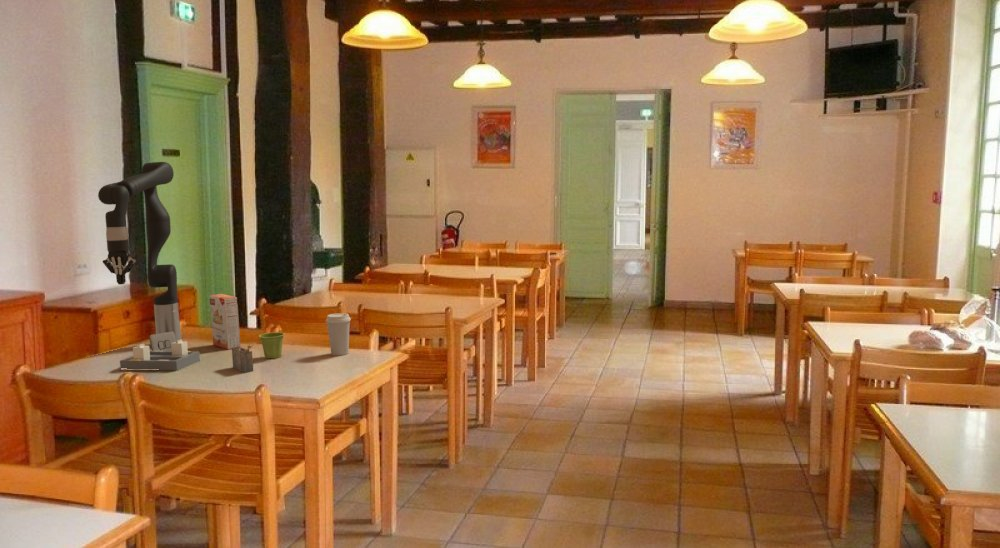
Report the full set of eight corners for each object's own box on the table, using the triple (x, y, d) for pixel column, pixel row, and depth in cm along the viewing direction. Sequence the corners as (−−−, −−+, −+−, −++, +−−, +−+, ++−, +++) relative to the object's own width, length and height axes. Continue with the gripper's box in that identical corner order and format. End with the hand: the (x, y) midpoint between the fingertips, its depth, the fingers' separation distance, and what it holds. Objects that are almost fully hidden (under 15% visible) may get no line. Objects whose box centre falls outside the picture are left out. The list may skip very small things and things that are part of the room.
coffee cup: (338, 357, 309) (336, 318, 308) (321, 354, 315) (319, 315, 313) (357, 352, 317) (355, 314, 315) (340, 349, 323) (339, 312, 321)
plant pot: (266, 361, 306) (265, 338, 305) (256, 357, 314) (254, 334, 312) (290, 357, 312) (288, 334, 311) (279, 353, 319) (278, 331, 318)
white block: (178, 356, 309) (176, 339, 308) (188, 357, 308) (186, 339, 307) (172, 359, 305) (171, 341, 304) (182, 359, 304) (181, 341, 304)
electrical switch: (154, 359, 315) (151, 335, 314) (149, 358, 318) (146, 334, 318) (178, 355, 321) (176, 331, 321) (173, 354, 325) (170, 331, 324)
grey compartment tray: (145, 360, 313) (145, 350, 313) (199, 360, 310) (199, 350, 309) (120, 370, 298) (119, 360, 297) (177, 370, 294) (176, 360, 294)
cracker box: (212, 345, 338) (208, 294, 335) (226, 343, 342) (222, 293, 339) (226, 350, 328) (223, 298, 325) (241, 347, 332) (237, 296, 329)
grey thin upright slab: (254, 372, 291) (252, 345, 290) (246, 373, 289) (244, 346, 288) (241, 367, 300) (239, 340, 299) (233, 368, 298) (231, 342, 297)
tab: (140, 361, 303) (138, 343, 302) (150, 361, 302) (149, 343, 301) (134, 364, 299) (132, 345, 298) (144, 364, 298) (142, 345, 297)
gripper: (139, 237, 313) (143, 282, 316) (107, 238, 315) (111, 282, 318) (127, 239, 306) (131, 285, 308) (95, 239, 308) (99, 285, 310)
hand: (121, 284), depth 313 cm, fingers closed
